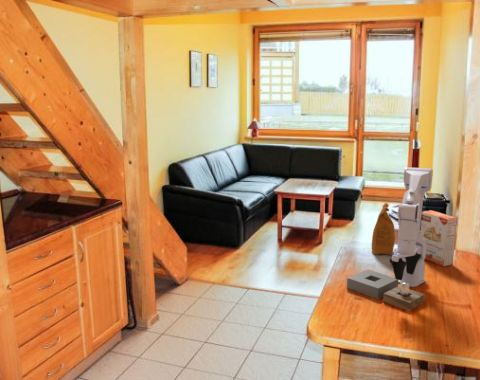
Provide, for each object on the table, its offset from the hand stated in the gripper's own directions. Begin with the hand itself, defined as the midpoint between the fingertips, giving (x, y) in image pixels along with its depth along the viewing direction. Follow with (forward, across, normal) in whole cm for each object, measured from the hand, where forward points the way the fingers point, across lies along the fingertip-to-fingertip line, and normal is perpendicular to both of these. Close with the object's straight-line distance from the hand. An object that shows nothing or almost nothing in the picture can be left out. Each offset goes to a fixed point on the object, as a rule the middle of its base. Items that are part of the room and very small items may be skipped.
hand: (404, 276), depth 169 cm
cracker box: (+10, -48, -12) cm, 51 cm away
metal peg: (+9, 0, 0) cm, 9 cm away
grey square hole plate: (+9, -2, -14) cm, 17 cm away
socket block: (+9, 0, 0) cm, 9 cm away
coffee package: (+10, -43, -34) cm, 56 cm away
